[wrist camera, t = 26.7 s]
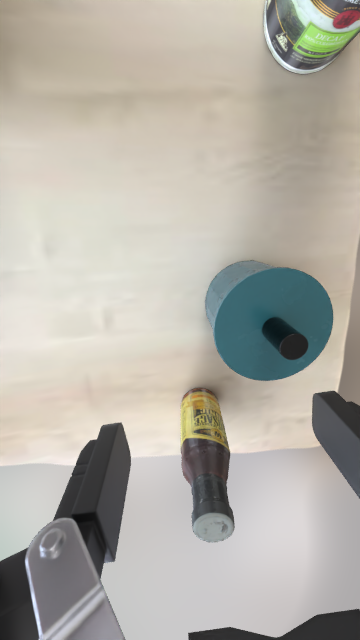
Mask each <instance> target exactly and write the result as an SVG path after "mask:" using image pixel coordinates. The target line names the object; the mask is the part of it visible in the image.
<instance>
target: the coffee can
mask: <svg viewBox="0 0 360 640" xmlns="http://www.w3.org/2000/svg"><path fill="white" fill-rule="evenodd" d="M264 32H265V38H266V41H267V44H268V47H269V49H270V51H271V53H272V55H273V57H274V58H275V59H276V61H277V62H278V63H279V64H280V65H282V66H283V67H284V68H286V69H287V70H289V71H292V72H294V73H299V74H308V73H313V72H317V71H319V70H321V69H323V68H325V67H326V66H328V65H329V64H330V63H331V62H333V61H334V60H335V59H336V58H337V57H338V55H339V54H340V53H341V52H342V50H343V49H344V48H345V47H346V46H347V45H348V44H349V43H350V42H351V41H352V40H353V39H354V37H355V36H356V35H357V34H358V33H359V32H360V0H266V2H265V8H264Z"/></svg>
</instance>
